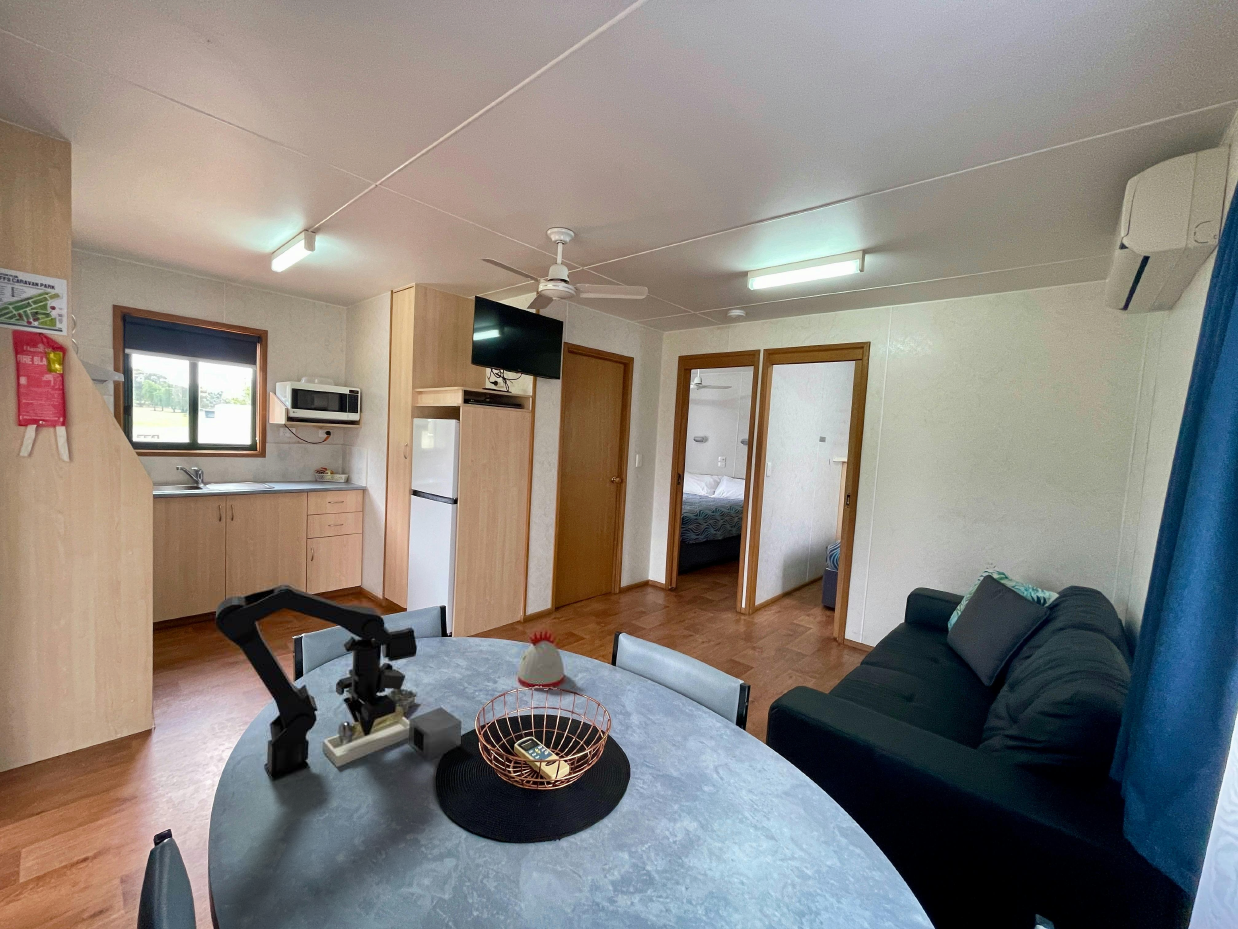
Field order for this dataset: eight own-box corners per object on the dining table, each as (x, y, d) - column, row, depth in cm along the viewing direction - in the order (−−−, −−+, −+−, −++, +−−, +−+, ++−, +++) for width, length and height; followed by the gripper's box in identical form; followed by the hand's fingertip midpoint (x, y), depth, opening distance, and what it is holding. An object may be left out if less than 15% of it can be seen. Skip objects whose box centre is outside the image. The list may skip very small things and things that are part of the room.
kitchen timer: (513, 672, 157) (515, 624, 157) (555, 666, 163) (557, 620, 162) (524, 693, 144) (527, 641, 144) (570, 685, 150) (572, 636, 150)
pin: (346, 748, 111) (347, 727, 111) (338, 740, 114) (338, 720, 114) (404, 725, 121) (405, 706, 121) (395, 718, 124) (396, 700, 124)
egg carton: (394, 723, 126) (395, 707, 126) (368, 718, 127) (368, 702, 127) (419, 702, 136) (420, 688, 136) (395, 698, 138) (395, 683, 138)
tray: (337, 767, 108) (337, 756, 108) (322, 750, 113) (323, 740, 113) (414, 735, 121) (414, 725, 121) (398, 721, 126) (398, 712, 126)
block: (428, 761, 111) (429, 735, 111) (408, 743, 117) (409, 719, 117) (460, 746, 118) (461, 721, 117) (440, 730, 123) (441, 707, 123)
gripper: (420, 668, 115) (417, 735, 116) (383, 644, 128) (381, 705, 128) (370, 683, 107) (367, 755, 107) (336, 656, 119) (333, 721, 120)
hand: (363, 732), depth 116 cm, fingers closed on pin, 3 cm apart
